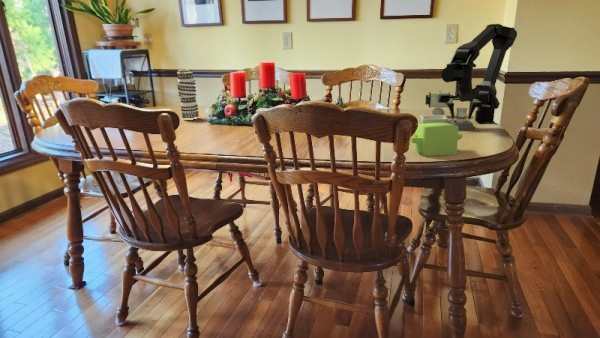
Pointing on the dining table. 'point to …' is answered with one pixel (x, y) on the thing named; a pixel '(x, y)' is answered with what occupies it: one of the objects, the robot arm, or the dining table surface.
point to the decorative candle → (187, 93)
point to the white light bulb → (461, 115)
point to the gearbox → (436, 139)
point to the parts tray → (433, 119)
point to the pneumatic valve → (436, 102)
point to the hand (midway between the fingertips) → (460, 119)
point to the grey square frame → (463, 125)
